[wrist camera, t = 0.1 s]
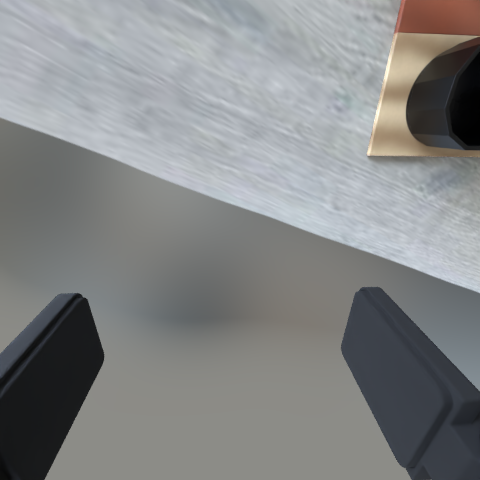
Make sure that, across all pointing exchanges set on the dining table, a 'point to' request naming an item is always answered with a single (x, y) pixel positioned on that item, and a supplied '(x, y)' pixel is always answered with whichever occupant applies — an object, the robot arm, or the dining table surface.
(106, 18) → the dining table surface
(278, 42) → the dining table surface
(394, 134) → the board
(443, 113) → the saucepan
